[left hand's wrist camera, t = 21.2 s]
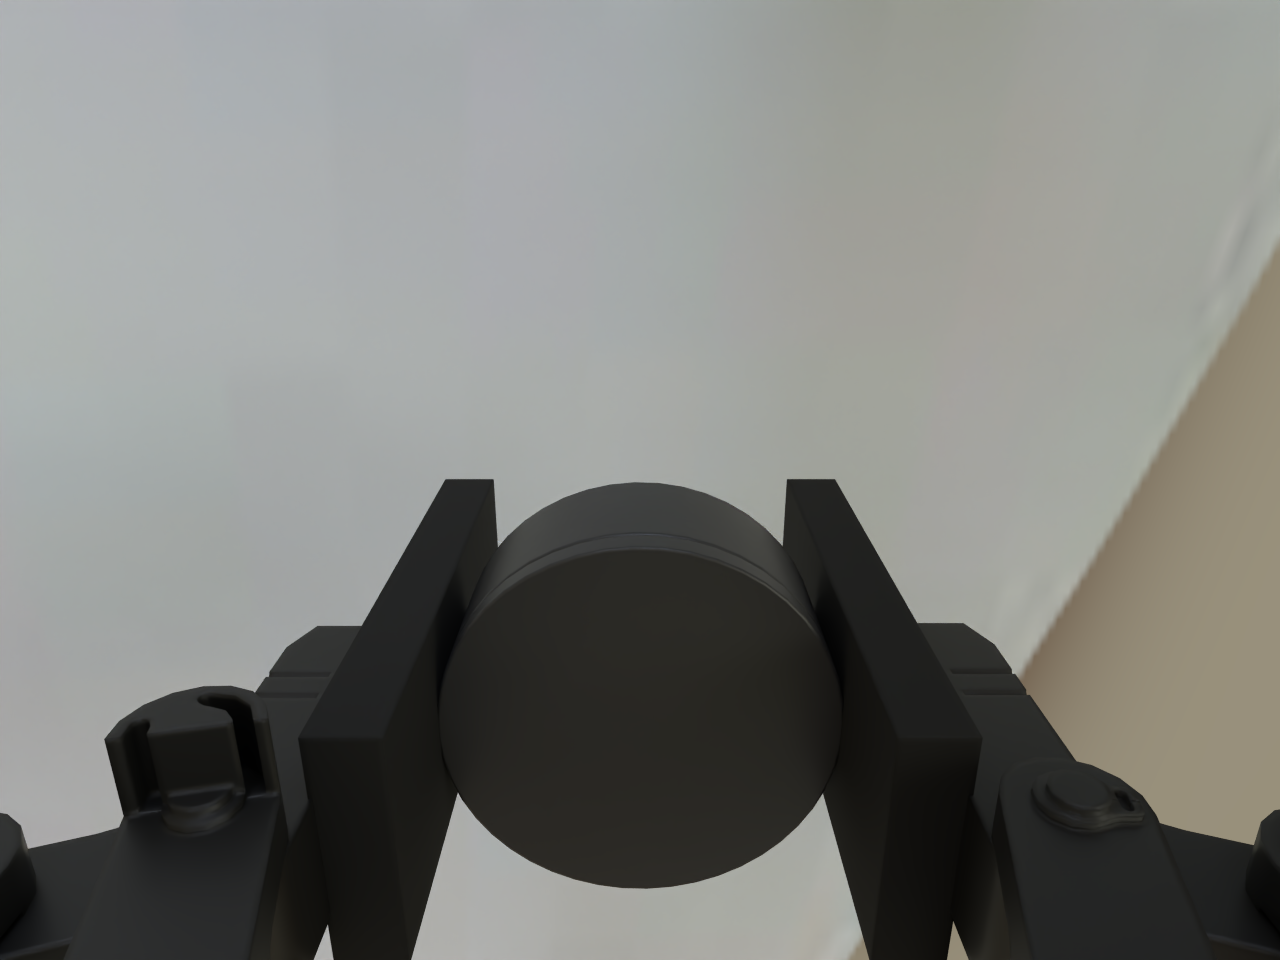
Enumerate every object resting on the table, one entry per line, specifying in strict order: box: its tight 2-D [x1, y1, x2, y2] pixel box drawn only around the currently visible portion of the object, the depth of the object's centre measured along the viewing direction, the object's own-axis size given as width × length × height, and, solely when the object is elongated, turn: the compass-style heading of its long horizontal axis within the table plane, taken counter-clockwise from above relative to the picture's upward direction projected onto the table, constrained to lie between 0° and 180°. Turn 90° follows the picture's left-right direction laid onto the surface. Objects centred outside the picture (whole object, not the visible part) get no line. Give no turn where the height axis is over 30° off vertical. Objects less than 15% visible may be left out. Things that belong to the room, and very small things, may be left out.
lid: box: [438, 482, 843, 889], centre depth 11 cm, size 5×5×2 cm
